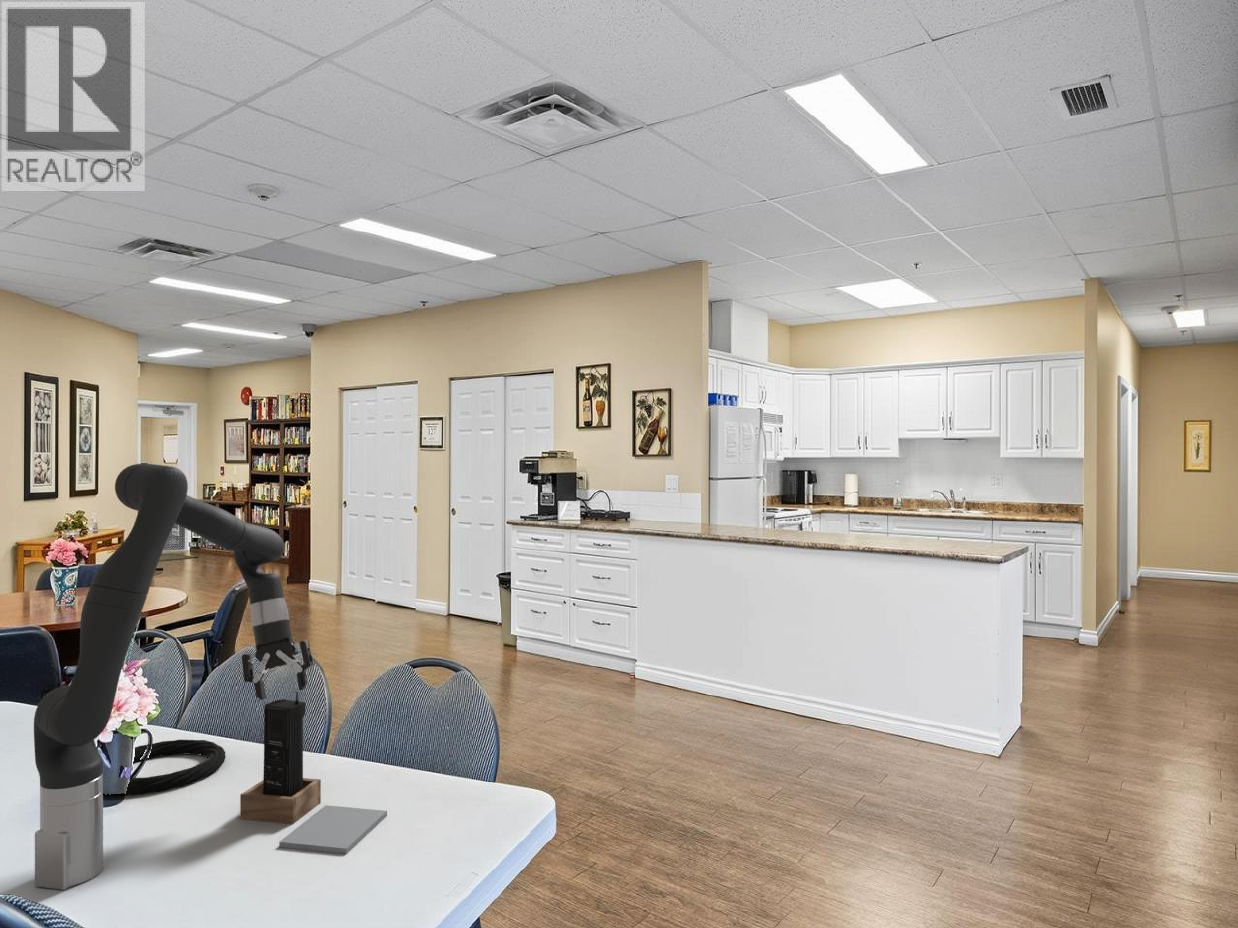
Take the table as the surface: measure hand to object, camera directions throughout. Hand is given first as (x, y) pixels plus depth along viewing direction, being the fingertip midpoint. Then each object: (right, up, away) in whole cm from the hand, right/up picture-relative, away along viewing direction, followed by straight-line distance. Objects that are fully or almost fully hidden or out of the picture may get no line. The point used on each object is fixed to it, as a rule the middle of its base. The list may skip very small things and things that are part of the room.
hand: (282, 694), depth 171 cm
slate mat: (+17, -23, -16) cm, 32 cm away
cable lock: (-35, -23, +12) cm, 44 cm away
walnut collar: (+3, -22, -7) cm, 24 cm away
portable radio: (+3, -23, -7) cm, 24 cm away
